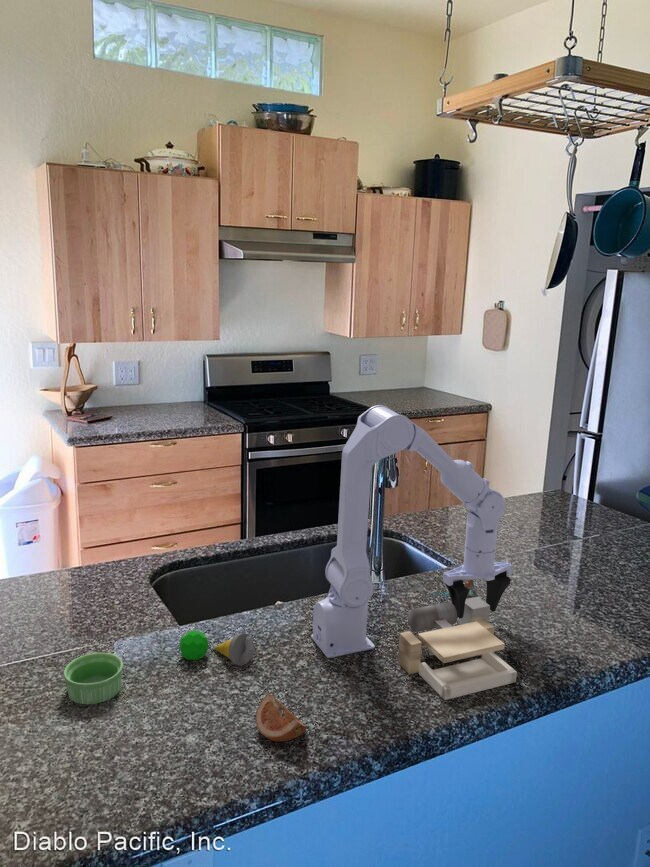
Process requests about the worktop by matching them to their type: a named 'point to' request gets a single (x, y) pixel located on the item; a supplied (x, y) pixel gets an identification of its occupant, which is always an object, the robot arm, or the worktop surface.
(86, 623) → the worktop surface
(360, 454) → the robot arm
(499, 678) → the tray
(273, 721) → the fruit slice
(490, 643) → the trapdoor
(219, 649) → the ice cream cone
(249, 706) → the worktop surface
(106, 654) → the ramekin
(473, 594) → the dragon figurine
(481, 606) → the grey rectangular block
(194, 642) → the polyhedron
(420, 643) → the trapdoor posts
